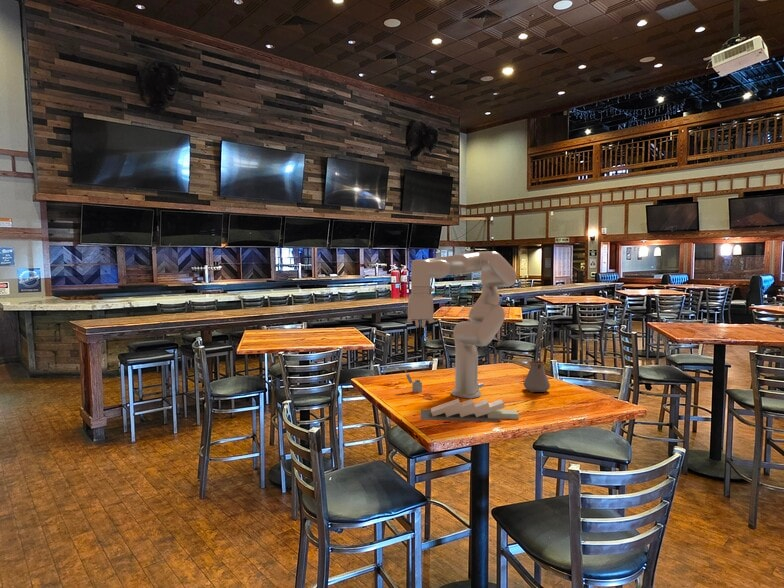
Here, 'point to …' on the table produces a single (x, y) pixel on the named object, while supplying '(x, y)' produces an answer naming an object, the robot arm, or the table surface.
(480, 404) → the domino
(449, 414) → the domino
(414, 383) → the lighter
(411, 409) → the table surface
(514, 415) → the domino
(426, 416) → the mat
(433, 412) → the domino
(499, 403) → the domino
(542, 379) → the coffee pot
